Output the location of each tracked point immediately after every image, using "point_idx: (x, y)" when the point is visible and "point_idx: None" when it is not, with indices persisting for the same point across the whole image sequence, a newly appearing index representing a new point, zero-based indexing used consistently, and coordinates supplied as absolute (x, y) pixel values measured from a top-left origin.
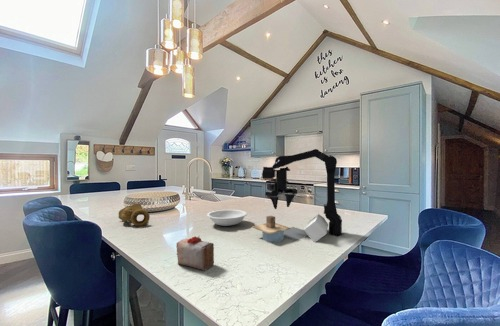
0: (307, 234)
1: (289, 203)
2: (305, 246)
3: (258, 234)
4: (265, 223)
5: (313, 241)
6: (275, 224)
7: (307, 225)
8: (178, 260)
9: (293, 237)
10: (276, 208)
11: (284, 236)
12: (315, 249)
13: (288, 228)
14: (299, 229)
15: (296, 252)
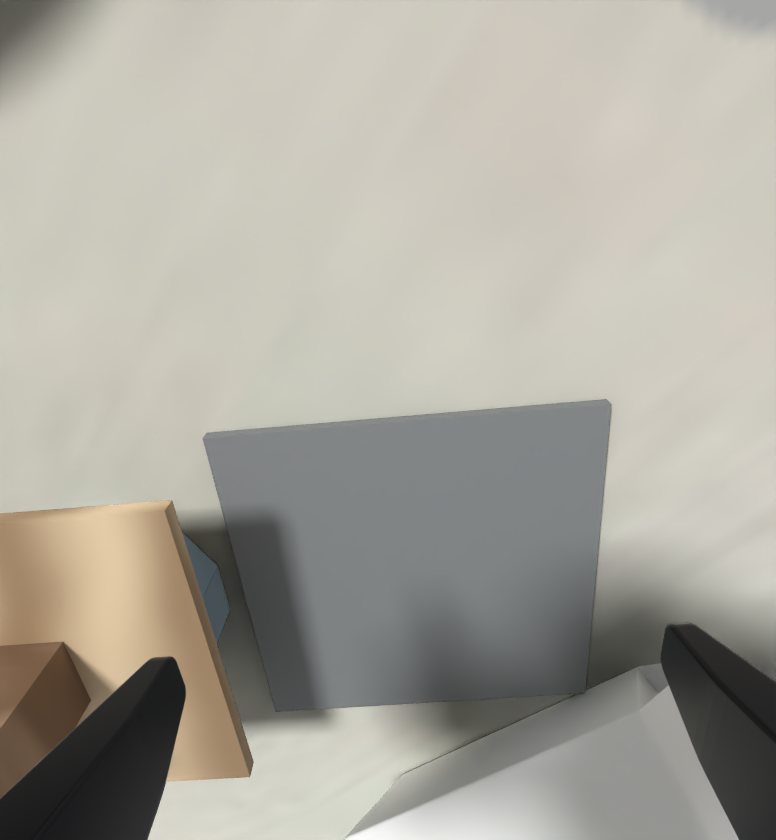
0: (366, 815)
1: (731, 810)
2: (288, 786)
3: (24, 394)
4: (22, 522)
5: (397, 780)
6: (151, 623)
7: (450, 834)
8: None
9: (319, 666)
10: (179, 712)
11: (257, 613)
12: (312, 833)
13: (223, 774)
14: (576, 528)
15: (165, 816)
